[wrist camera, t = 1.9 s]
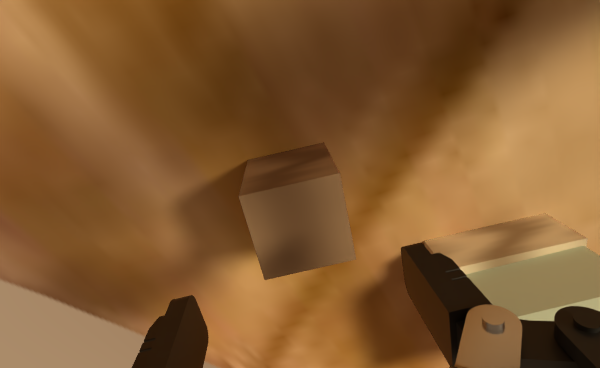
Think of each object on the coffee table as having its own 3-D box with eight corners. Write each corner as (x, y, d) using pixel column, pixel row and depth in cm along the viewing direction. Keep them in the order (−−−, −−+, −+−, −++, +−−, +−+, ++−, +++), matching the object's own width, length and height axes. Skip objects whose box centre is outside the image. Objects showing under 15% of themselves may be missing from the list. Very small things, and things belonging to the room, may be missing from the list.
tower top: (583, 245, 22) (647, 285, 18) (576, 338, 25) (630, 389, 21) (460, 276, 22) (497, 321, 18) (467, 364, 25) (501, 419, 21)
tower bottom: (541, 210, 25) (587, 238, 22) (537, 305, 29) (576, 343, 25) (422, 238, 25) (447, 270, 22) (431, 329, 29) (454, 370, 25)
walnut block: (323, 142, 22) (339, 173, 16) (337, 210, 24) (356, 259, 18) (247, 159, 22) (238, 196, 16) (267, 226, 24) (264, 279, 18)
